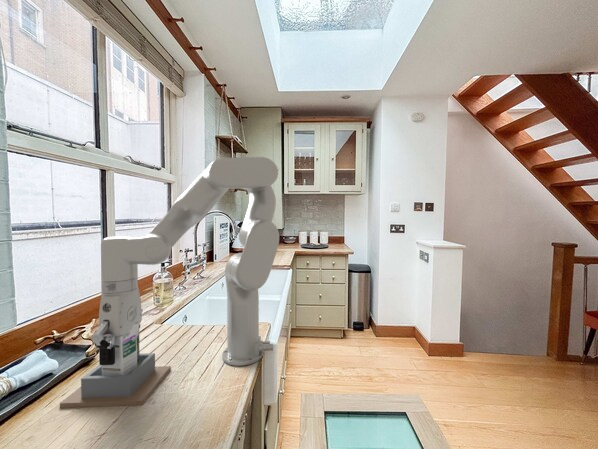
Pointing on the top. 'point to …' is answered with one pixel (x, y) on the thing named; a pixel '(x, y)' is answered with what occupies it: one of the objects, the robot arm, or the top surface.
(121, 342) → the syrup box
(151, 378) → the caddy
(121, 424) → the top surface
